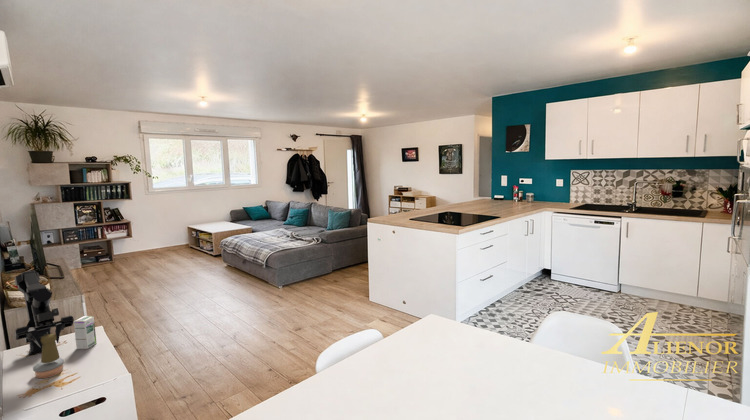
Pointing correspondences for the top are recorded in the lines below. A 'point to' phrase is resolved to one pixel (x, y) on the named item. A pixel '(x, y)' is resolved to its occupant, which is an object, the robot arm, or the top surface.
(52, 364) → the lid
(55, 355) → the cork
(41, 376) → the bowl
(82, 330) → the syrup box
